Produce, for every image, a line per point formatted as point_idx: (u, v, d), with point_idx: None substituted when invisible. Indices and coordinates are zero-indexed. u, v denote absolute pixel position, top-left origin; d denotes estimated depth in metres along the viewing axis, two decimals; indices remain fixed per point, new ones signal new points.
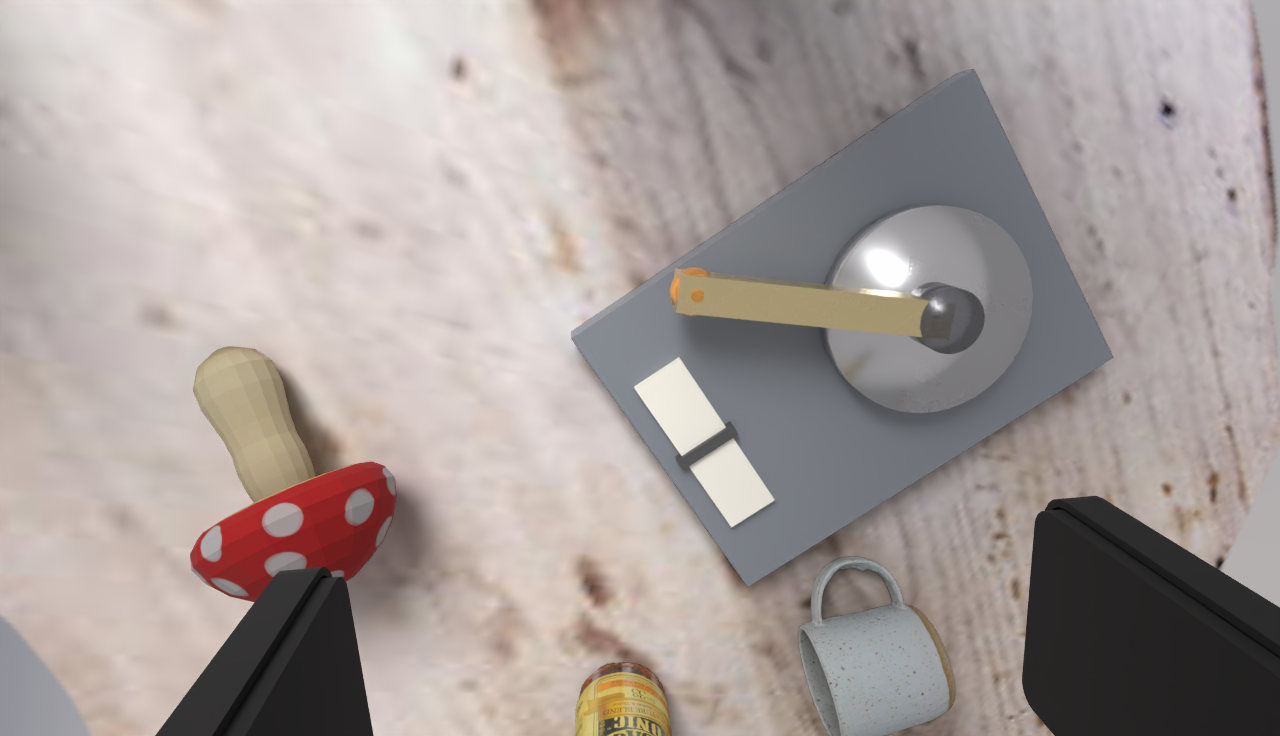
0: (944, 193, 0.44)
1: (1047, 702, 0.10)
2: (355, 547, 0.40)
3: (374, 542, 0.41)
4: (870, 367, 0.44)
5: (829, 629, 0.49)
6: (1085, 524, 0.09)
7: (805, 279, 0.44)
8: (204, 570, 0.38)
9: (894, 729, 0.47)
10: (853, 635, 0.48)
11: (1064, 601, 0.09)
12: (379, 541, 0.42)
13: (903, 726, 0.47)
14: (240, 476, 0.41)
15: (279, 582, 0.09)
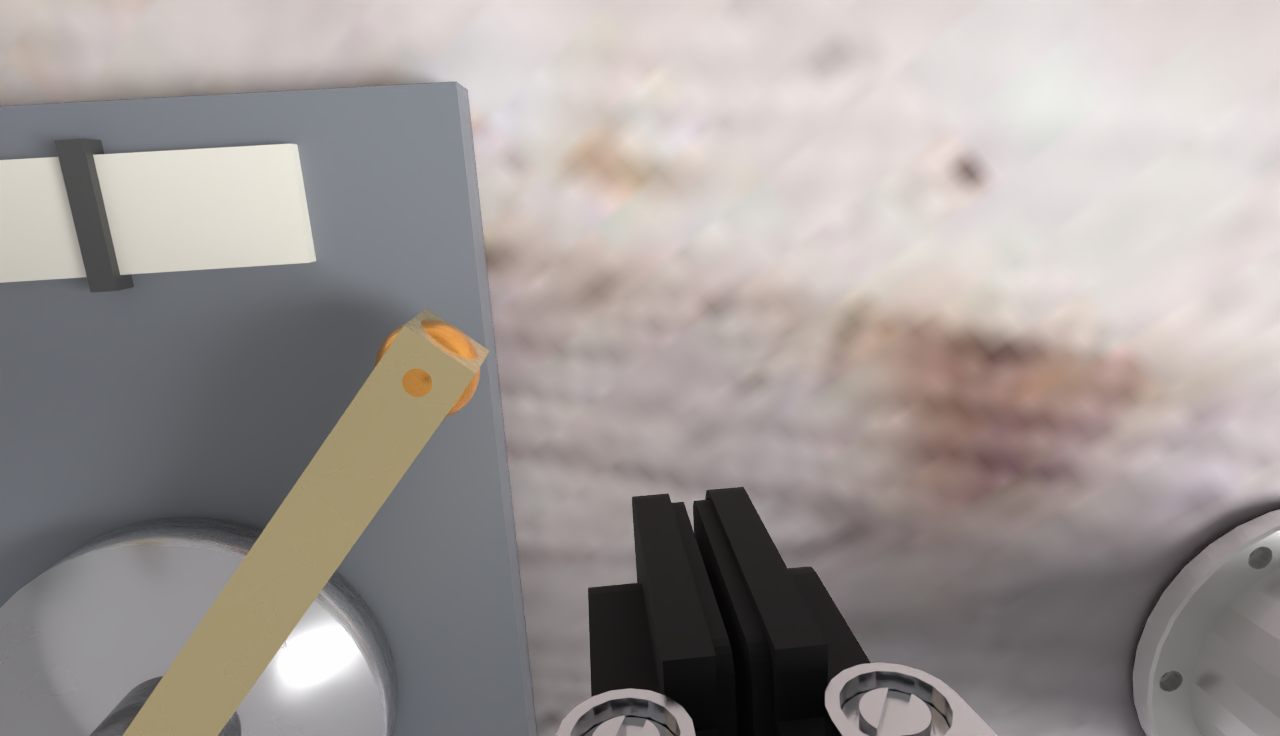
0: None
1: None
2: None
3: None
4: (117, 595, 0.22)
5: None
6: (716, 512, 0.10)
7: None
8: None
9: None
10: None
11: None
12: None
13: None
14: None
15: (643, 504, 0.10)
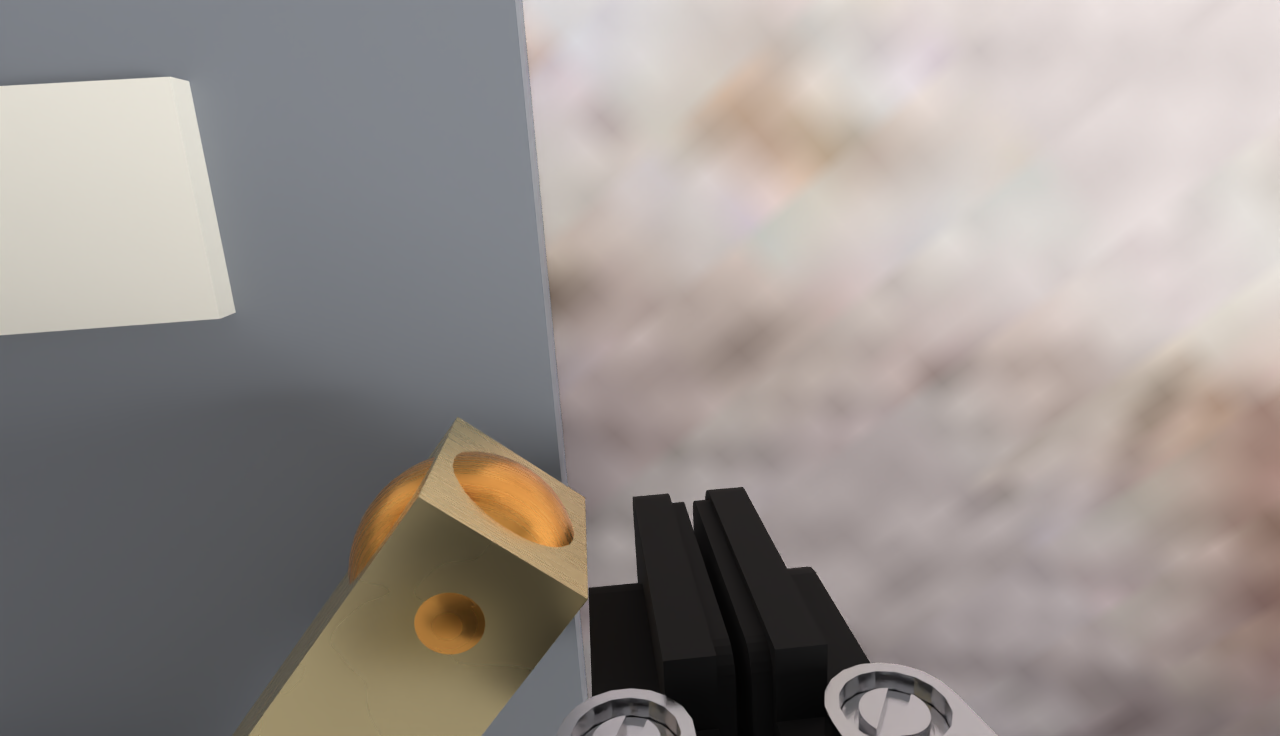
0: None
1: None
2: None
3: None
4: None
5: None
6: (715, 512, 0.10)
7: None
8: None
9: None
10: None
11: None
12: None
13: None
14: None
15: (643, 504, 0.10)
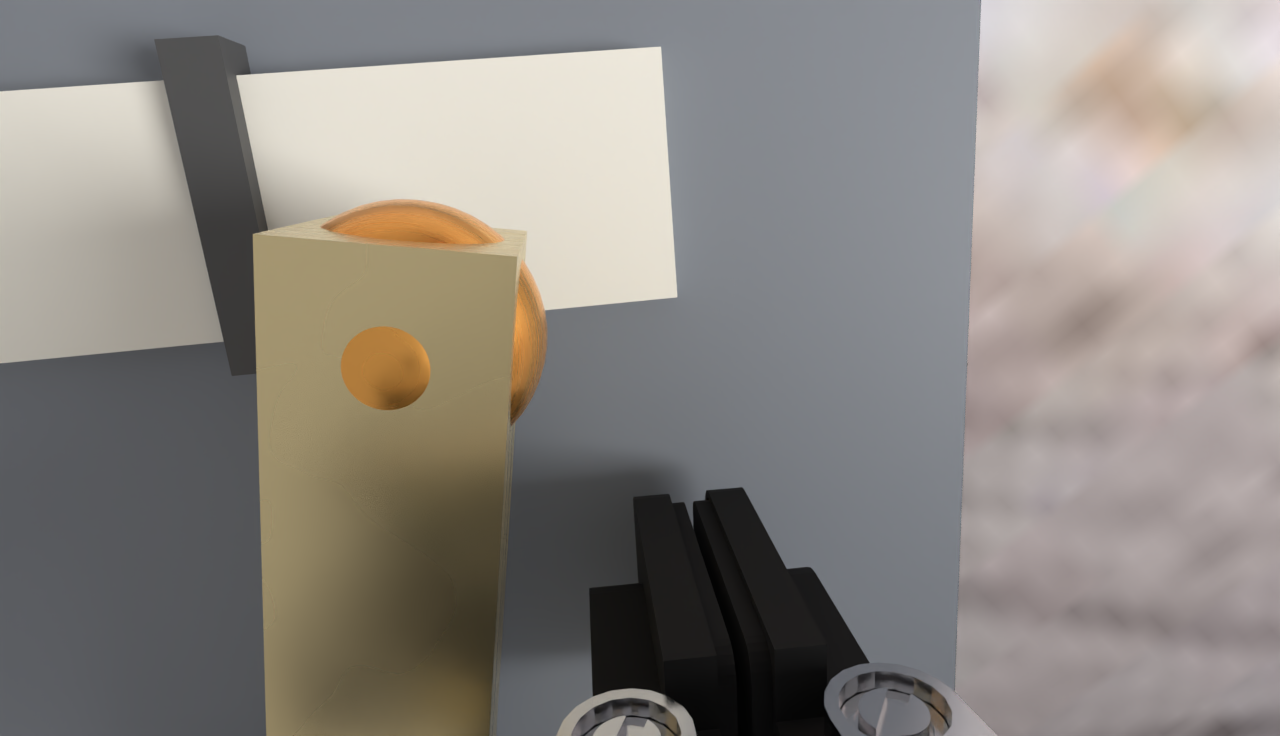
0: None
1: None
2: None
3: None
4: None
5: None
6: (715, 512, 0.10)
7: None
8: None
9: None
10: None
11: None
12: None
13: None
14: None
15: (644, 504, 0.10)
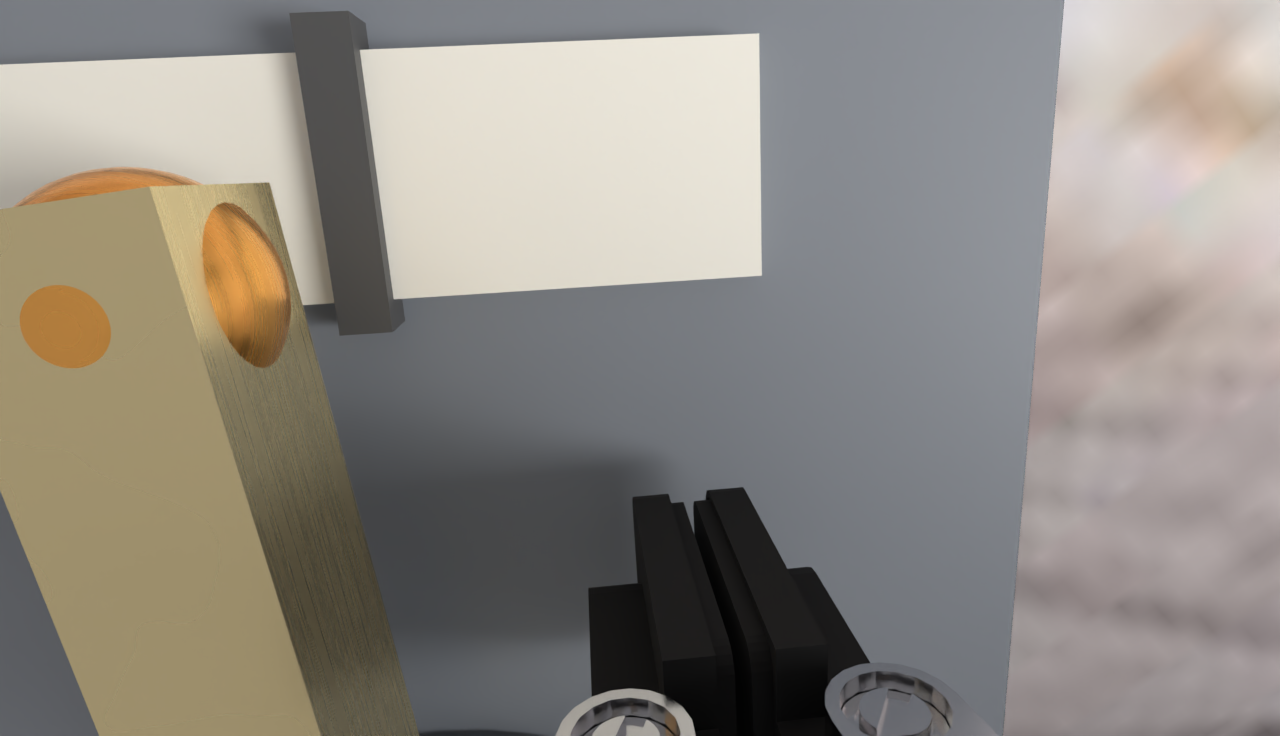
0: None
1: None
2: None
3: None
4: None
5: None
6: (715, 512, 0.10)
7: None
8: None
9: None
10: None
11: None
12: None
13: None
14: None
15: (643, 504, 0.10)
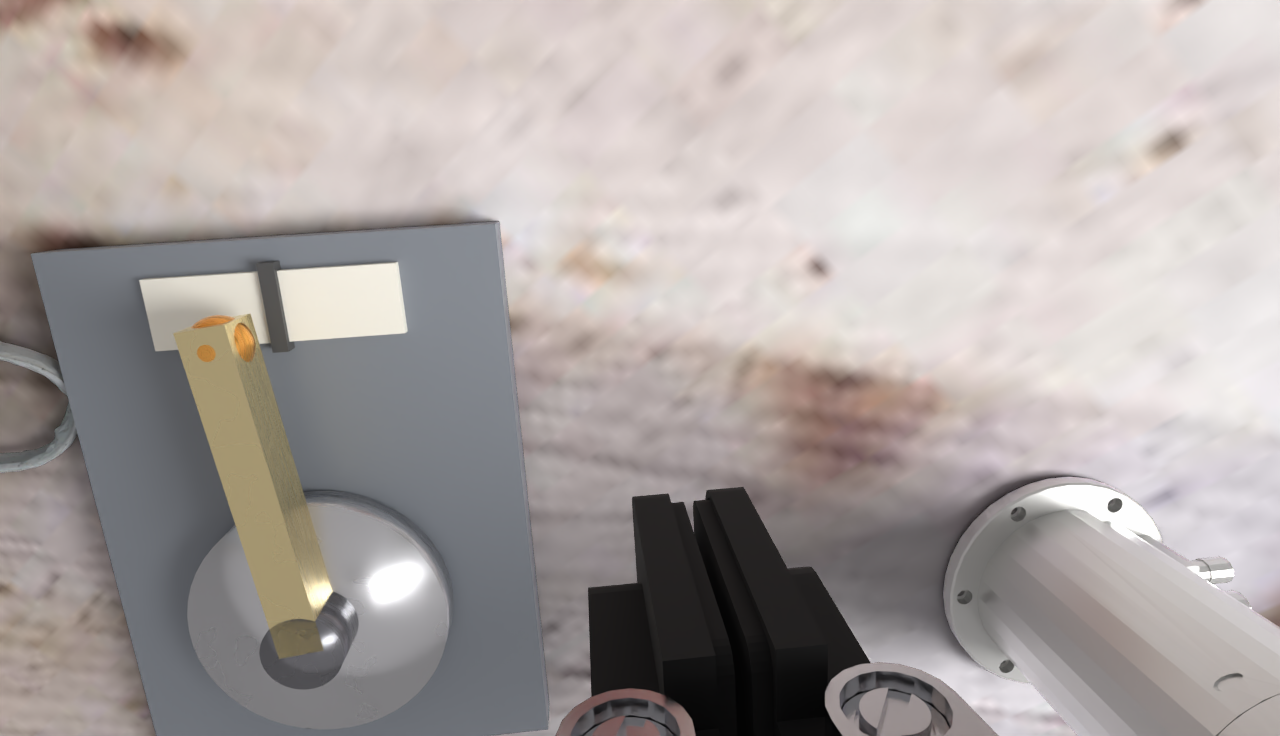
0: (443, 666, 0.40)
1: None
2: None
3: None
4: (227, 581, 0.35)
5: None
6: (715, 512, 0.10)
7: (425, 503, 0.37)
8: None
9: None
10: None
11: None
12: None
13: None
14: None
15: (643, 504, 0.10)
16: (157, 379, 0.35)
